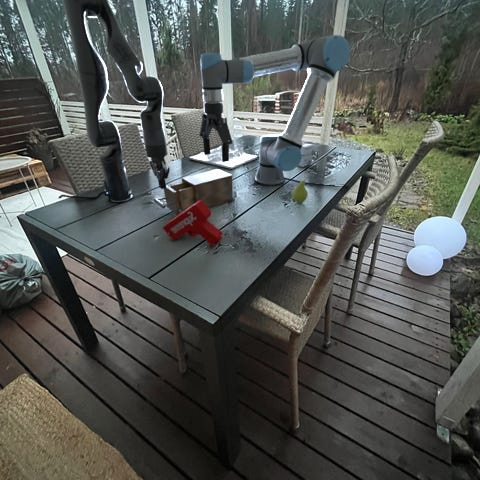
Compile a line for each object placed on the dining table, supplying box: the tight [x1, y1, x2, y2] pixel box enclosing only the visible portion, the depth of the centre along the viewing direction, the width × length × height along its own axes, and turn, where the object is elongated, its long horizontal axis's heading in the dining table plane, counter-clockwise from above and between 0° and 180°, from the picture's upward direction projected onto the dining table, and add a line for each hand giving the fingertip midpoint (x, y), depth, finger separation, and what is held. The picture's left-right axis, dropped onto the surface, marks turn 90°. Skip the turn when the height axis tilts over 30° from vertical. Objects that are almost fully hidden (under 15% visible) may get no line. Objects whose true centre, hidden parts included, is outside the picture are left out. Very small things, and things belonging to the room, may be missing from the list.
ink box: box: [297, 143, 314, 168], centre depth 163 cm, size 8×5×12 cm, turn 135°
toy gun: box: [162, 200, 224, 248], centre depth 93 cm, size 18×4×15 cm
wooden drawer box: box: [181, 168, 234, 209], centre depth 120 cm, size 19×11×12 cm, turn 129°
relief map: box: [189, 145, 258, 170], centre depth 177 cm, size 27×35×5 cm
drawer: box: [153, 181, 195, 216], centre depth 113 cm, size 23×10×10 cm, turn 129°
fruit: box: [291, 174, 311, 204], centre depth 118 cm, size 7×8×12 cm
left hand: (162, 188), depth 106 cm, fingers closed
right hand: (216, 157), depth 115 cm, fingers open, 13 cm apart
